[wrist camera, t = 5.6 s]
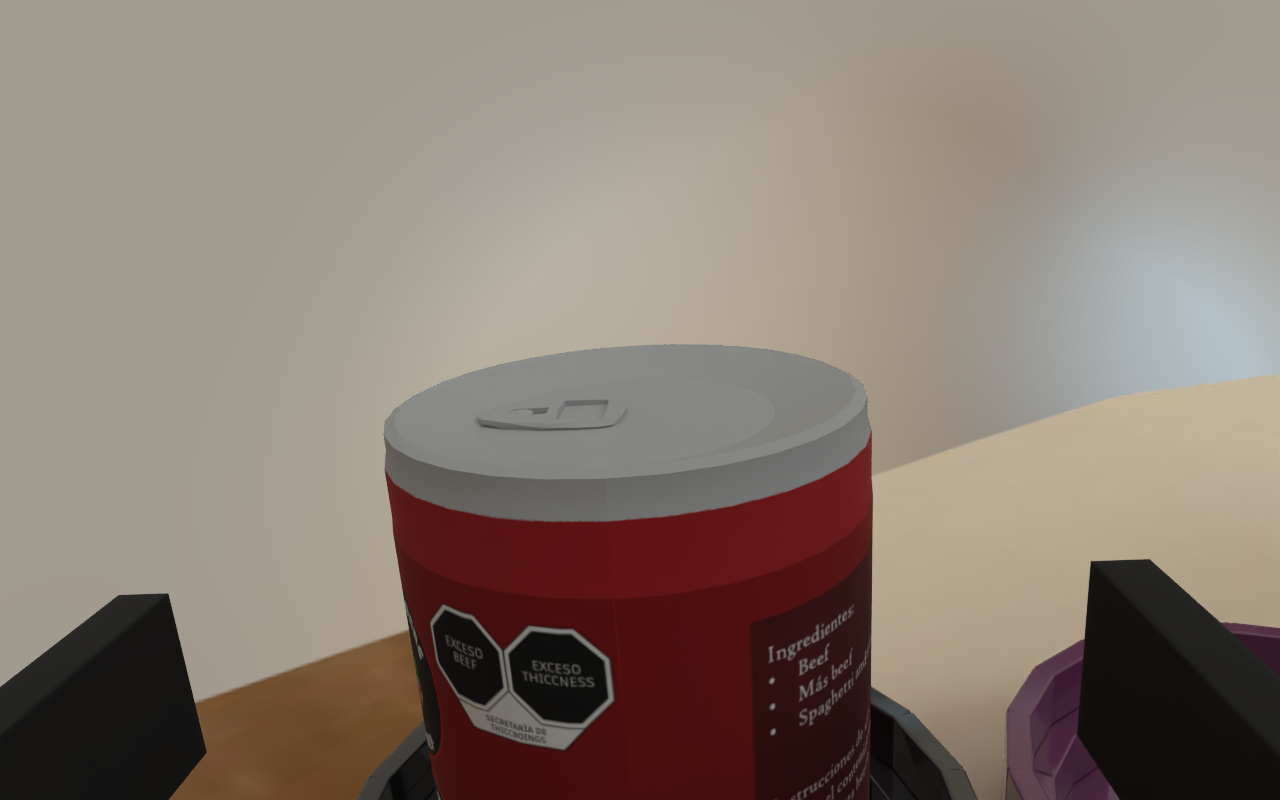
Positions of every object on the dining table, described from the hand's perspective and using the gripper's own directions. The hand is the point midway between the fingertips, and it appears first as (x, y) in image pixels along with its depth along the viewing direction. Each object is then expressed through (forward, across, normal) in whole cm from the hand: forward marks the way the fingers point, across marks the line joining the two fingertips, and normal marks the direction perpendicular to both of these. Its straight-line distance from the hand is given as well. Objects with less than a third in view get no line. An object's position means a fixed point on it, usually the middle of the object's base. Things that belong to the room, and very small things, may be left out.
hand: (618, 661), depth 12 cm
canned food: (+3, 0, -8) cm, 9 cm away
